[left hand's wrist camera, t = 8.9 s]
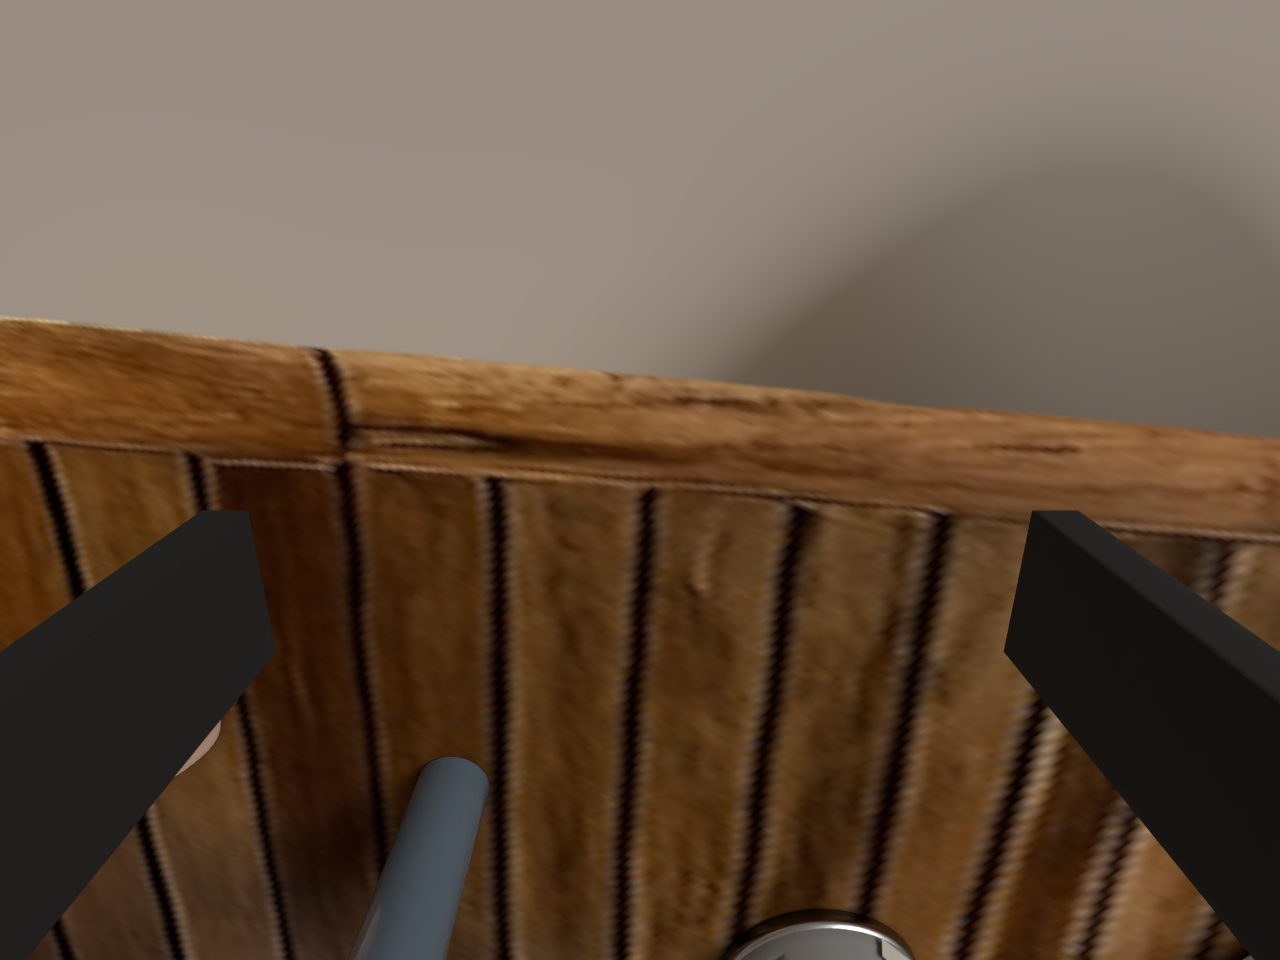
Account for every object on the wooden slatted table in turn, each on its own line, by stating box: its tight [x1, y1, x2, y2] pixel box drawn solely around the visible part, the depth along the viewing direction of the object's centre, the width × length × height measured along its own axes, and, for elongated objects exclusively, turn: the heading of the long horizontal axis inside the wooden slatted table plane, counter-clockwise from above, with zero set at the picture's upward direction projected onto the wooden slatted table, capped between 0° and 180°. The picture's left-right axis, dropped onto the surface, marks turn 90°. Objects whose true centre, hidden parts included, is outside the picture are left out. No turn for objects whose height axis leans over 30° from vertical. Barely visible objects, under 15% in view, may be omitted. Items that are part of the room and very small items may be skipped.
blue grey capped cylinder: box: [348, 757, 489, 960], centre depth 42 cm, size 5×5×16 cm
